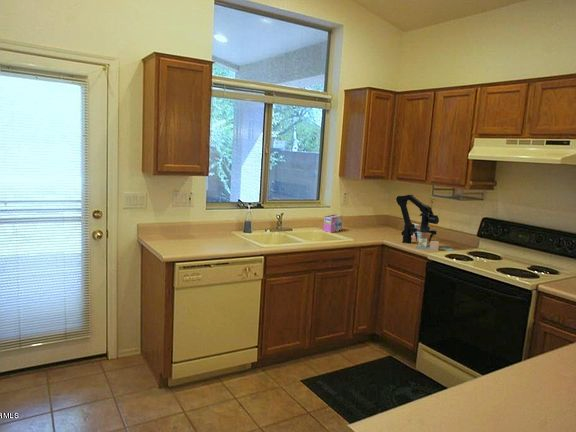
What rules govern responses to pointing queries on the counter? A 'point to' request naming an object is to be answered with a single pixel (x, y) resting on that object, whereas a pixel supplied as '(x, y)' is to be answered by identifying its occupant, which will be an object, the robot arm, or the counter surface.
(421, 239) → the maple block
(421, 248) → the card
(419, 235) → the stack of blocks
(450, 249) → the teal pad
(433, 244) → the terracotta block
